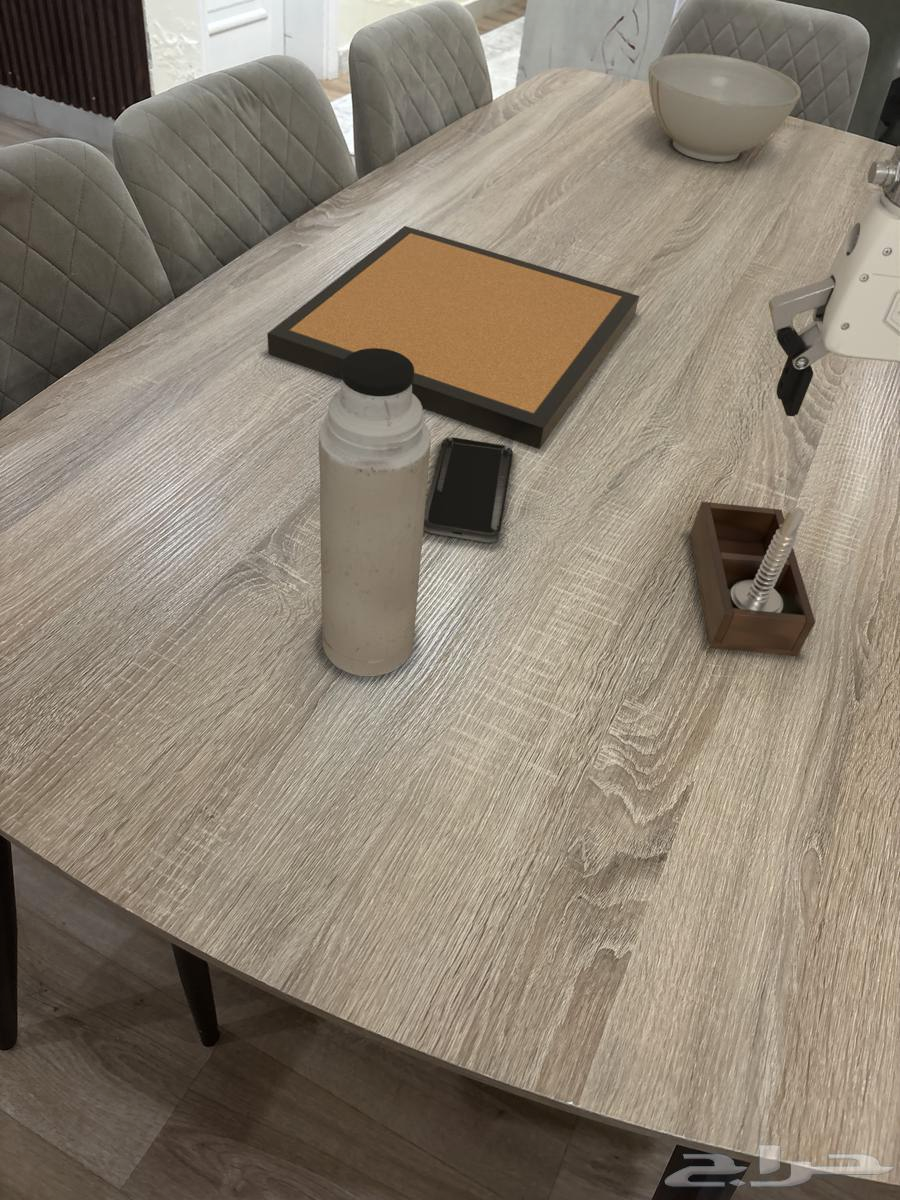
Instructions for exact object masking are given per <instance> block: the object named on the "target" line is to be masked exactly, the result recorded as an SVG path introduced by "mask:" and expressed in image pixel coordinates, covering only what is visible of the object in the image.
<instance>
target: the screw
mask: <svg viewBox="0 0 900 1200" xmlns="http://www.w3.org/2000/svg"><path fill="white" fill-rule="evenodd" d="M804 515H805V511H804V510H803V509H802V508H800V507H794V508H790V509H789V510H788V511H787V513H786V516H785V517H784V519H785V520H784V522H783V524H781V525H780V527H781V528H780V529H777V530H776V534H775V535H774V536H773V540H771V544H770V545H769V549H768V550H767V551H766V553H767V554H766V555H765V556H764V559H763V560H762V564H761V565H760V569H758V573H757V574H756V578H755V579H754V580H744V581H740V582H737V583H736V584H735V585H734V586H733V587H732V589H731V591H730V599H731V602H732V604H733V605H734V607H735V608H736V609H746V610H756V611H766V612H776V613H781V611H782V609H783V600H782V598H781V596H780V595H779V593H778V592H777V591H776V590H775V589H774V588H773V587H774V586H775V583H776V582H777V579H778V577H779V576H780V573H781V571H782V568H783V567H784V564H785V563H786V560H787V558H788V557H789V553H790V552H791V549H792V548H793V549H794V545H795V544H796V541H797V537H798V529H799V527H800V525H801V523H802V521H803V518H804Z"/></svg>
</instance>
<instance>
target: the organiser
mask: <svg viewBox="0 0 900 1200" xmlns="http://www.w3.org/2000/svg"><path fill="white" fill-rule="evenodd" d="M784 520H785V517H784V513H783V510H782V509H778V508H769V507H761V506H750V505H740V504H739V505H738V504H730V503H720V502H712V501H711V502H709V501H701V503H700V504H699V507H698V511H697V513H696V516H695V519H694V522H693V525H692V527H691V530H690V532H689V541H690V542H689V543H690V547H691V551H692V558H693V563H694V567H695V573H696V578H697V579H696V580H697V584H698V589H699V594H700V600H701V606H702V610H703V615H704V622H705V626H706V632H707V637H708V642H709V648H711V649H720V650H721V649H722V650H732V651H741V652H742V651H743V652H751V653H752V652H753V653H760V654H771V655H782V656H783V655H784V656H793V657H798V656H799V655H800V652H801V651H802V648H803V646H804V645H805V643H806V641H807V639H808V637H809V636H810V633H811V631H812V630H813V628H814V626H815V624H816V619H815V617H814V613H813V609H812V606H811V604H810V600H809V599H810V598H809V597H808V593H807V590H806V586H805V583H804V580H803V576H802V573H801V569H800V567H799V563H798V560H797V556H796V553H795V550H794V547H793V548H792V549H791V552H790V553H789V557H788V558H787V560H786V563H785V564H784V567H783V568H782V571H781V573H780V576H779V577H778V579H777V582H776V583H775V586H774V587H773V588H774V589H775V590H776V591H777V592H778V593H779V595H780V596H781V598H782V600H783V609H782V611H781V613H776V612H766V611H756V610H746V609H736V608H735V607H734V605H733V604H732V602H731V599H730V591H731V589H732V587H733V586H734V585H735V584H736V583H737V582H740V581H744V580H754V579H755V578H756V574H757V573H758V569H760V565H761V564H762V560H763V559H764V556H765V555H766V554H767V553H766V551H767V550H768V549H769V545H770V544H771V540H773V536H774V535H775V534H776V530H777V529H780V528H781V527H780V525H781V524H783V522H784Z"/></svg>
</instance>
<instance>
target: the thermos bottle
mask: <svg viewBox="0 0 900 1200" xmlns="http://www.w3.org/2000/svg"><path fill="white" fill-rule="evenodd" d="M341 377H342V379H341V382H340V389H338V391H336V392H335V393H334V394H333V395H332V396H331V398H330V399H329V403H328V408H327V411H326V414H325V418H324V420H323V421H322V423H321V424H320V427H319V430H318V461H319V462H318V463H319V531H320V532H319V533H320V539H319V540H320V578H321V579H320V583H321V585H320V586H321V587H320V588H321V591H320V592H321V630H322V631H321V635H322V637H321V638H322V639H321V641H322V647H323V652H324V653H325V656H326V657H327V659H329V661H330V662H331V663H332V664H333V665H334V666H335V667H336V668H338V669H340V670H342V671H343V672H345V673H348V674H350V675H351V674H352V675H354V676H361V677H377V676H384V675H385V674H389V673H391V672H393V671H396V670H398V669H399V668H400V667H402V666H403V665H405V663H406V661H407V660H408V659H409V658H410V657H411V654H412V652H413V647H414V641H415V630H416V629H415V628H416V618H417V606H418V593H419V584H420V572H421V559H422V549H423V548H422V547H423V537H424V536H423V535H424V530H423V526H424V514H425V507H426V504H427V491H428V477H429V467H430V457H431V455H430V454H431V443H432V442H431V432H430V429H429V428H428V425H427V424H426V423H425V421H426V419H425V417H426V416H425V412H424V410H423V409H424V408H422V405H421V403H420V401H419V400H418V398H417V397H416V396H415V395H414V394H413V393H412V383H413V379H414V366H413V364H412V363H411V361H410V360H409V359H408V358H406V357H405V356H404V355H402V354H400V353H398V352H395V351H392V350H388V349H381V348H369V349H362V350H359V351H355V352H353V353H351V354H349V355H348V356H347V357H346V358H345V359H344V360H343V362H342V364H341Z"/></svg>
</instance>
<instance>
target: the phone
mask: <svg viewBox="0 0 900 1200" xmlns="http://www.w3.org/2000/svg"><path fill="white" fill-rule="evenodd" d="M513 455H514V451H513V448H511V447H509V446H507V445H504V444H497V443H491V442H486V441H485V442H484V441H478V440H472V439H468V438H467V439H466V438H460V437H453V436H449V437H446V438H444V439H443V440H442V442H441V445H440V449H439V452H438V455H437V458H436V459H437V460H436V463H435V467H434V473H433V476H432V480H431V485H430V488H429V492H428V496H427V499H426V503H425V514H424V526H423V532H425V533H427V534H430V535H433V536H439V537H440V536H441V537H446V538H452V539H458V540H463V541H464V540H465V541H472V542H478V543H482V544H494V543H496V542H498V540H499V539H500V535H501V529H502V522H503V518H504V510H505V504H506V498H507V491H508V486H509V480H510V474H511V468H512V461H513Z"/></svg>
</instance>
